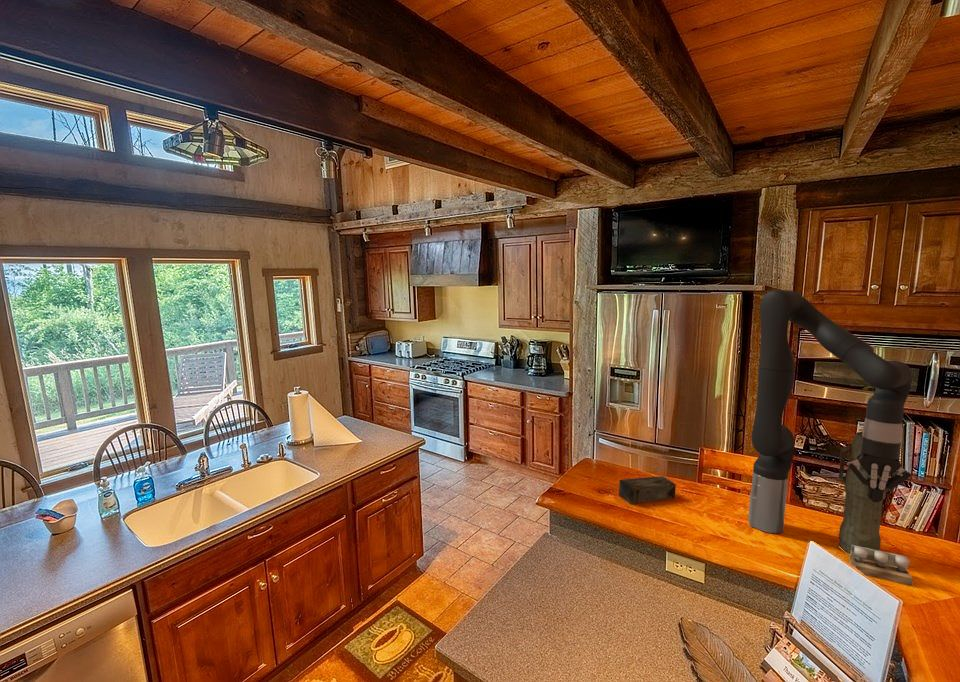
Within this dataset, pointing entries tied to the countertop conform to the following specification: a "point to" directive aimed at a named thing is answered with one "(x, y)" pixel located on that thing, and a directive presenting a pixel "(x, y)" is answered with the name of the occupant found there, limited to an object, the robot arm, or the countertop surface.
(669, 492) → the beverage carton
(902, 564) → the button right
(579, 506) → the countertop surface
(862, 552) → the button left
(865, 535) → the thermos
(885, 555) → the button middle
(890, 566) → the button board
